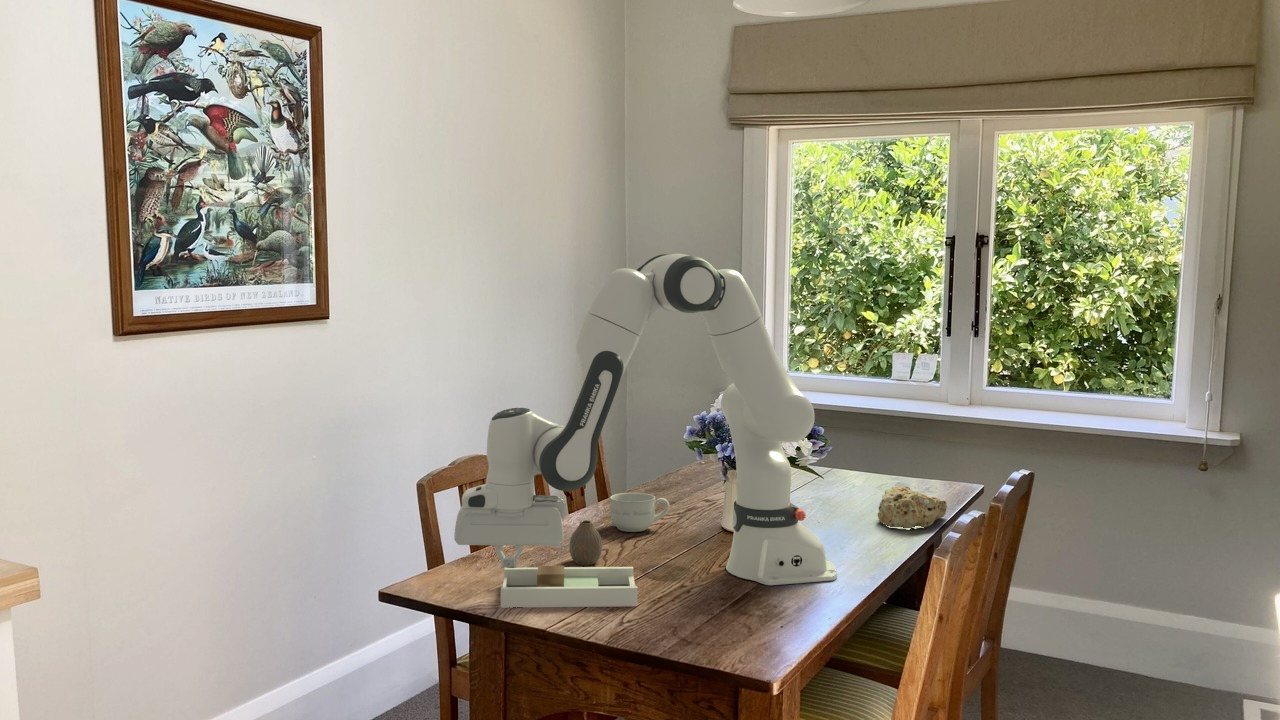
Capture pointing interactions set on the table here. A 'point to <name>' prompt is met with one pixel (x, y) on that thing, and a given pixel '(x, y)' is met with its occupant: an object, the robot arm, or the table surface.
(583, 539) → the vase
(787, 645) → the table surface
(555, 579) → the walnut block
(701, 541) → the table surface
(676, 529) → the table surface
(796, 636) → the table surface
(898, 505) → the rock
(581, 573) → the box
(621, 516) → the teacup
